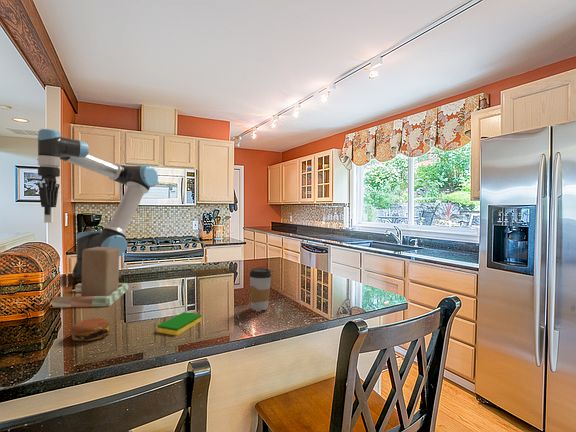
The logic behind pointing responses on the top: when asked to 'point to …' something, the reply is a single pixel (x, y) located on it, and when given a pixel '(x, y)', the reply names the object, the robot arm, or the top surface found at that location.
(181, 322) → the dish sponge
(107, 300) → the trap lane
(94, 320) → the burger
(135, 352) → the top surface
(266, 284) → the coffee cup
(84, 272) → the block
